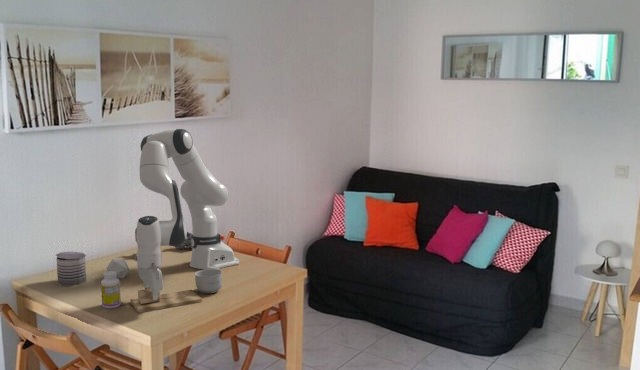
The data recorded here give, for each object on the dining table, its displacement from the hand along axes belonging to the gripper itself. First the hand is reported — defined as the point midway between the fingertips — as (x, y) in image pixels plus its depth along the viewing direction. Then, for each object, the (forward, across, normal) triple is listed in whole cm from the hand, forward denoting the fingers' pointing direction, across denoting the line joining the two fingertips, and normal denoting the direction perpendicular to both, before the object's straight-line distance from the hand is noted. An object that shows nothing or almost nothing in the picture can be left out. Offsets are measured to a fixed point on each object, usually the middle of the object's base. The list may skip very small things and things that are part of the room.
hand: (151, 295), depth 238 cm
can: (+4, +42, +21) cm, 47 cm away
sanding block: (+2, 0, +1) cm, 2 cm away
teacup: (+4, +5, -26) cm, 26 cm away
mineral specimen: (+4, +68, -37) cm, 77 cm away
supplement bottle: (+4, +6, +13) cm, 15 cm away
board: (+4, 0, -6) cm, 7 cm away
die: (+4, +39, +3) cm, 39 cm away
